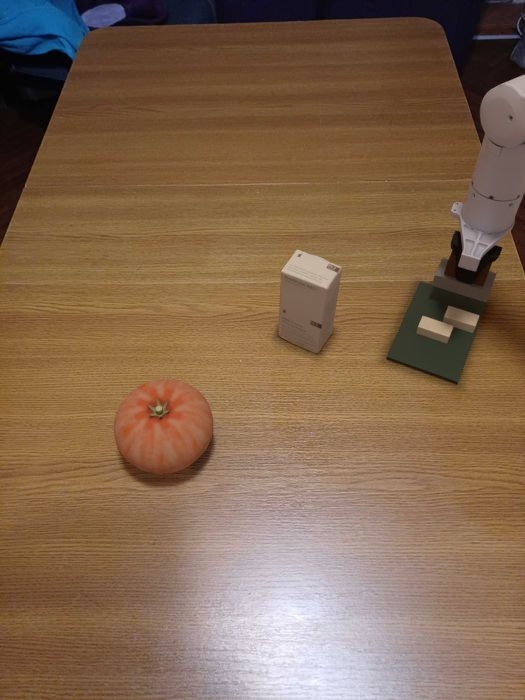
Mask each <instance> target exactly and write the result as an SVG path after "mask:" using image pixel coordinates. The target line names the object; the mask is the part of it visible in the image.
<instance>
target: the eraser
mask: <svg viewBox="0 0 525 700" xmlns="http://www.w3.org/2000/svg"><path fill="white" fill-rule="evenodd" d="M438 264H439V265H438V266H437V269H436V271H435V274H434V276H433V279H432V280H433V281H432V283H431V285H432V286H435V287H438V288H441V289H445V290H448V291H451V292H454V293H457V294H460V295H464V296H467V297H470V298H473V299H476V300H479V301H483V302H487V301H488V299H489V297H490V293H491V291H492V288H493V286H494V282H495V280H496V277H497V272H493V271H490V270H491V267H492V265H493V262H492V263H490V264H489V265H487V266H486V267H485V268H484V269H483V271H482V272H481V273H480V275H479V276H478V278H477V279H476V280H475V281H474V283H473V284H467V283H464V282H461V281H458V280H456V276H455V269H456V260H455V255H454V253H453V251H452V250H451V253H450V255H449V257H448V258H446V257H444V256H442V257H441V260H440V262H439V263H438Z"/></svg>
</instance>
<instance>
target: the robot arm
mask: <svg viewBox="0 0 525 700" xmlns="http://www.w3.org/2000/svg"><path fill="white" fill-rule="evenodd" d="M479 119H480V120H479V121H480V124H481V127H482V129H483V132H484V136H483V139H482V142H481V146H480V149H479V152H478V156H477V159H476V162H475V166H474V169H473V172H472V176H471V179H470V183H469V185H468V189H467V192H466V196H465V198H464V199H465V200H464V202H461V201H455V202H453V205H452V207H451V208H450V213H449V215H450V216H451V218H452V217H453V218H455V219H457V220H458V225H459V230H454V232H453V235H452V237H451V240H450V249H451V252H452V251H453V253H454V255H455V260H456V269H455V276H456V280H458V281H461V282H464V283H467V284H473V283H474V281H475V280H476V279H477V278H478V276H479V275H480V273H481V272H482V271H483V269H484V268H485V267H486V266H487V265H489V264H490V263H492V264H493V263H494V262H496V261H497V260H498V259H499V257H500V256H501V253H502V251H503V246H500V245H497V244H498V243H499V242H501V241H502V240H503V239H504V238H505V237H506V236H507V235H509V233H511V231H512V230H513V228H514V225H515V222H516V214H517V213H518V211H519V208H520V205H521V203H522V200H523V199H524V198H523V197H524V195H525V74H523V75H519V76H518V77H515V78H512V79H510V80H508V81H505V82H503V83H500V84H498V85H497V86H495V87H493V88H491V89H490V90H488V91H487V92H486V94H485V95H484V97H483V98H482V100H481V102H480V108H479Z"/></svg>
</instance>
